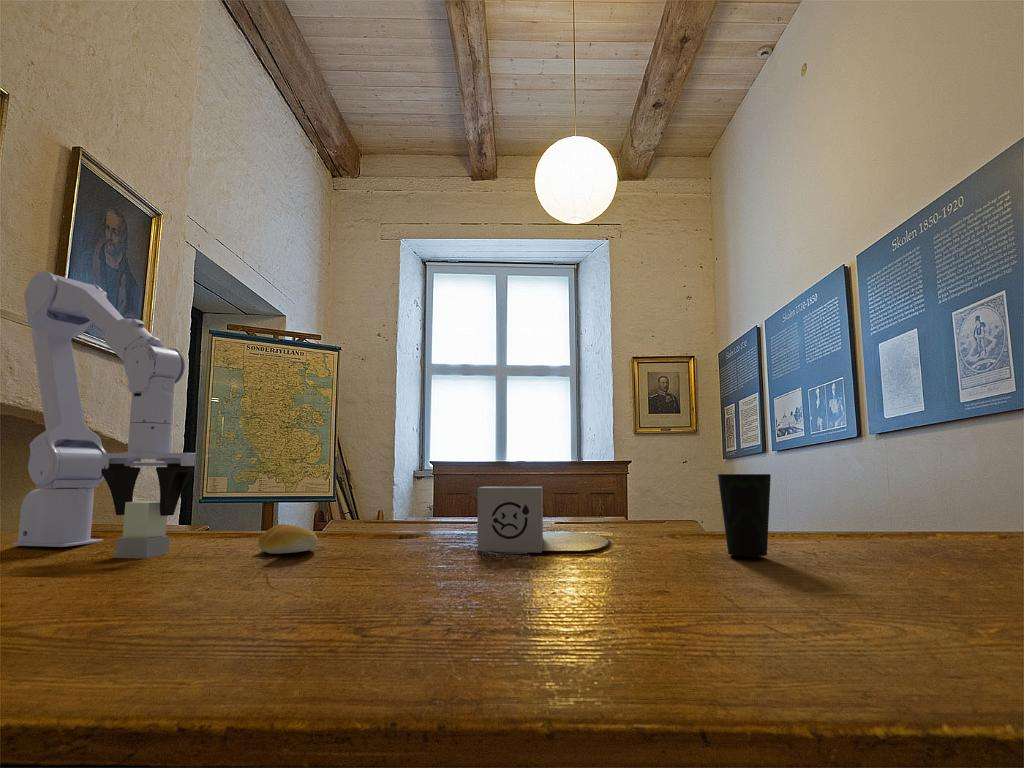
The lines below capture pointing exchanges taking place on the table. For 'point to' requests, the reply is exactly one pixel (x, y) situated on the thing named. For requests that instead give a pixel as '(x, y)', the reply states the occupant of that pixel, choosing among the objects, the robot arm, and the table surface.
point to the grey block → (141, 547)
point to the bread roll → (287, 539)
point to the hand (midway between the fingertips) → (144, 515)
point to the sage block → (143, 520)
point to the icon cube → (510, 519)
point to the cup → (745, 512)
